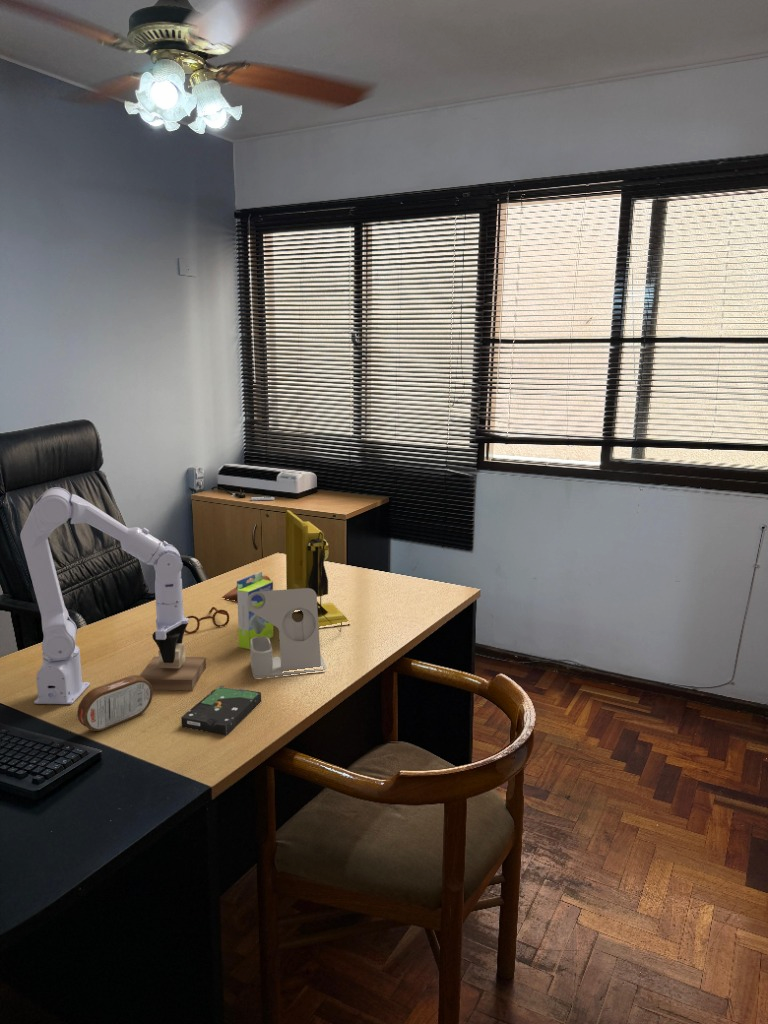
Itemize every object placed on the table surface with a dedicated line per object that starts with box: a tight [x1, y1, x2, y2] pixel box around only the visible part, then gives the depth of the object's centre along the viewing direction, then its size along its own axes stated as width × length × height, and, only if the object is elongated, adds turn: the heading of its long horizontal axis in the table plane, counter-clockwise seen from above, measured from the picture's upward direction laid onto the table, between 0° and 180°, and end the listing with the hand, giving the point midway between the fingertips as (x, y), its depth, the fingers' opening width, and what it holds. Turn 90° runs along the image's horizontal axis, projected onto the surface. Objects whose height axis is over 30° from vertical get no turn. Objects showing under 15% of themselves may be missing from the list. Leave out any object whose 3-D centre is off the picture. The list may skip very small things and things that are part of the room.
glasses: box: [184, 606, 230, 635], centre depth 193 cm, size 13×13×5 cm
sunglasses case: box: [221, 575, 272, 602], centre depth 219 cm, size 18×7×7 cm
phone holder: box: [247, 588, 328, 679], centre depth 165 cm, size 17×10×18 cm, turn 105°
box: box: [236, 571, 274, 650], centre depth 179 cm, size 10×4×17 cm, turn 152°
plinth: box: [139, 656, 207, 691], centre depth 159 cm, size 12×12×2 cm
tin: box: [76, 674, 154, 732], centre depth 139 cm, size 15×3×8 cm, turn 141°
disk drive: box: [180, 685, 262, 736], centre depth 144 cm, size 10×3×15 cm
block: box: [158, 643, 186, 668], centre depth 158 cm, size 4×4×4 cm
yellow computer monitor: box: [285, 509, 349, 633], centre depth 194 cm, size 31×14×30 cm, turn 22°
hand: (172, 657), depth 158 cm, fingers closed on block, 4 cm apart
